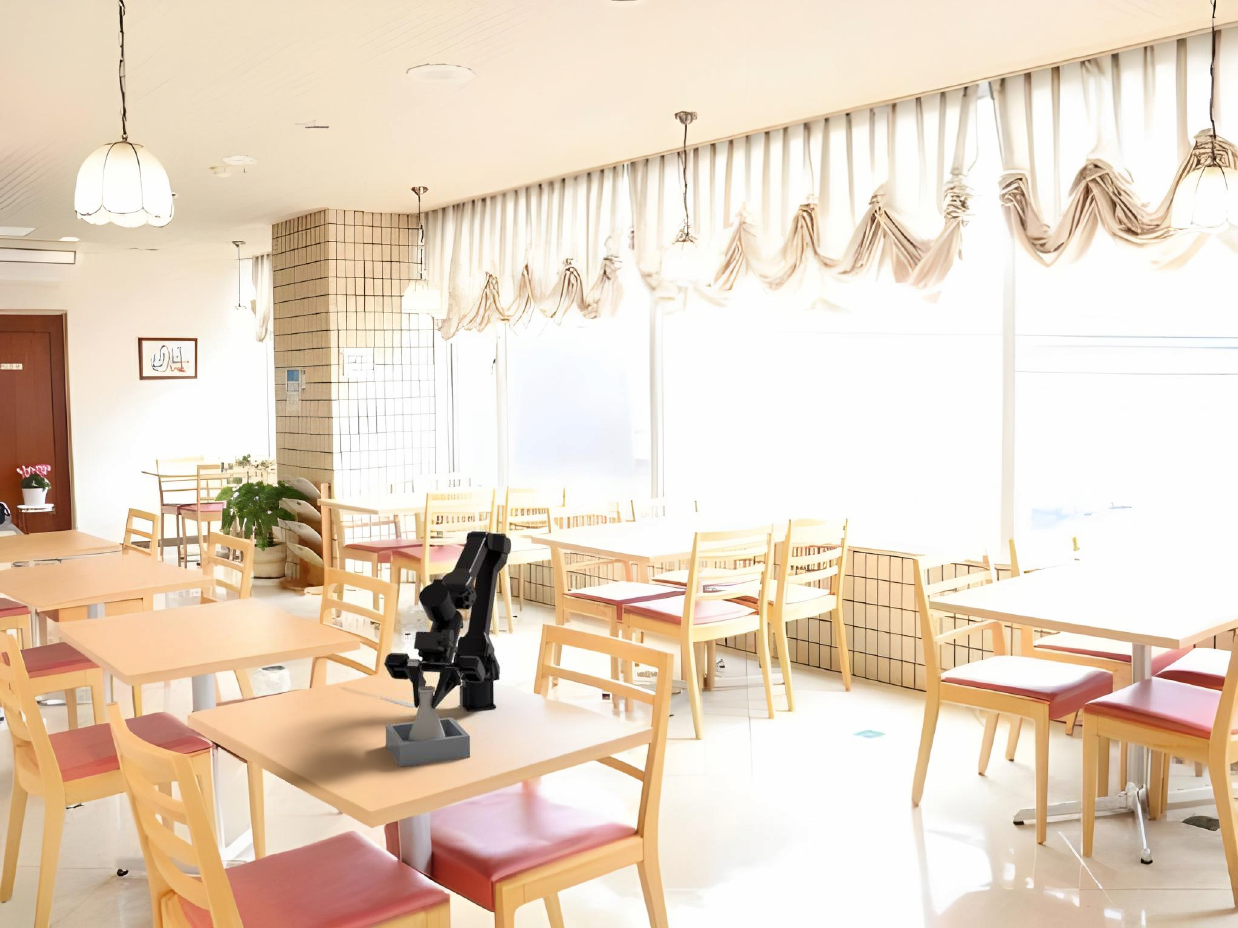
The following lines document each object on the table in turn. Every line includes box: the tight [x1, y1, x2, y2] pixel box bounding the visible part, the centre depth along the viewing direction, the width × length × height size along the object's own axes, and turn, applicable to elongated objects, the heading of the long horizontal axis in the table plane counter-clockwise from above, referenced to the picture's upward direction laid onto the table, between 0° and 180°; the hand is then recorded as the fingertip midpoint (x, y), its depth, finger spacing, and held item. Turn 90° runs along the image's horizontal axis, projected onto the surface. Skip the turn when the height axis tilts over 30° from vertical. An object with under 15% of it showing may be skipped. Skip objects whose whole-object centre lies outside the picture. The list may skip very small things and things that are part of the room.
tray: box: [385, 716, 471, 768], centre depth 198 cm, size 13×13×4 cm
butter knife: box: [379, 696, 415, 708], centre depth 236 cm, size 1×27×3 cm
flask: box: [408, 685, 445, 742], centre depth 198 cm, size 7×7×10 cm
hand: (424, 707), depth 197 cm, fingers closed on flask, 3 cm apart
